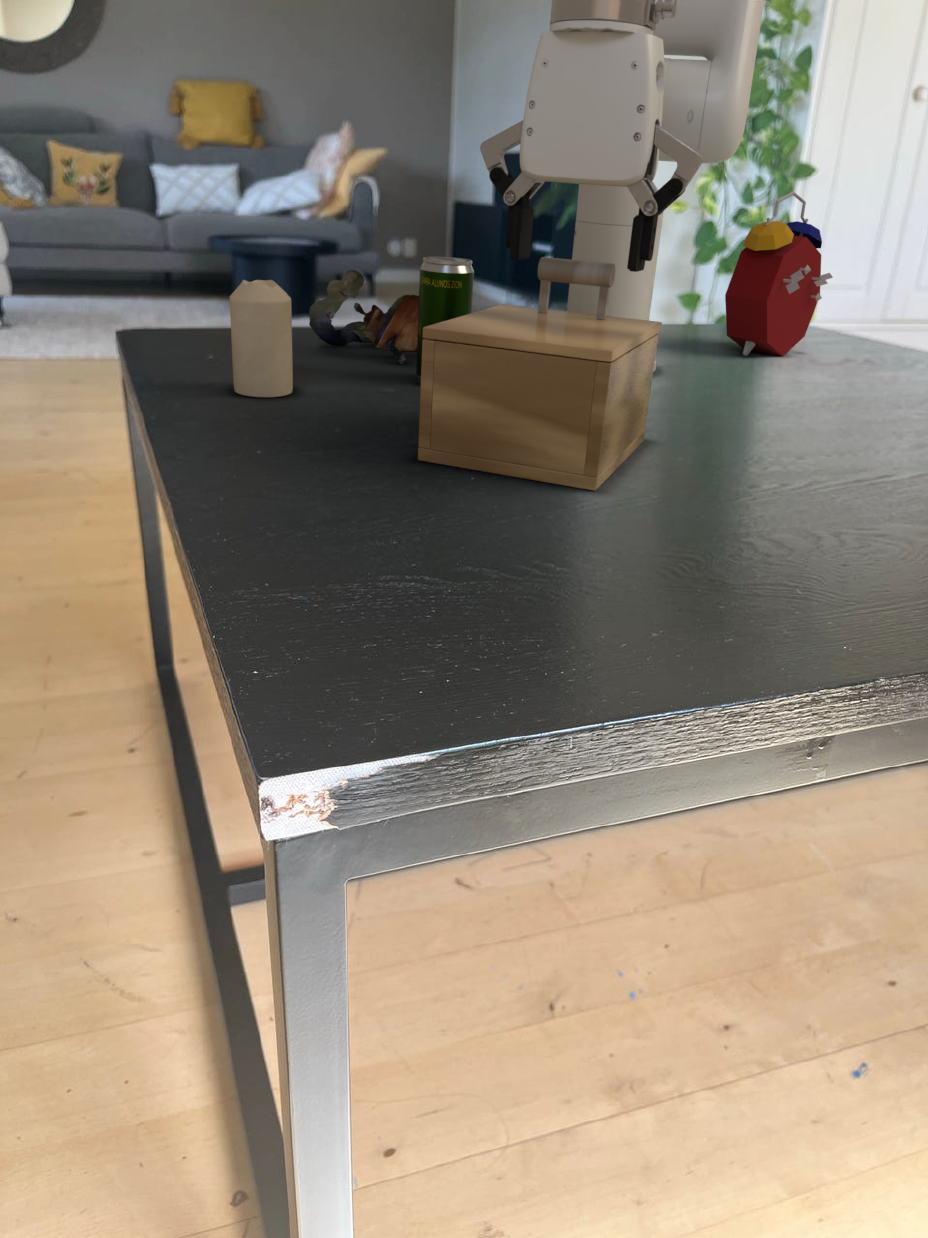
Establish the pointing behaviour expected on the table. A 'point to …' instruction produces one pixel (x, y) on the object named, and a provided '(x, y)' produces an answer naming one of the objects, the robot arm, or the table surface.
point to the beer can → (442, 294)
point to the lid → (553, 320)
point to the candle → (261, 339)
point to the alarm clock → (775, 285)
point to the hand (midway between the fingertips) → (576, 264)
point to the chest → (533, 411)
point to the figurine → (367, 319)
